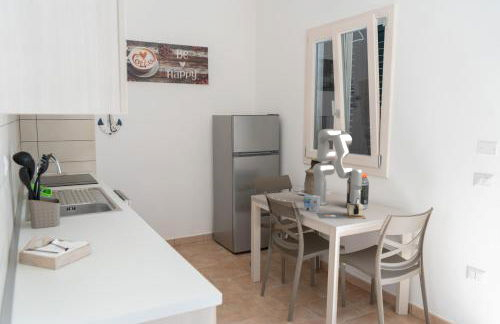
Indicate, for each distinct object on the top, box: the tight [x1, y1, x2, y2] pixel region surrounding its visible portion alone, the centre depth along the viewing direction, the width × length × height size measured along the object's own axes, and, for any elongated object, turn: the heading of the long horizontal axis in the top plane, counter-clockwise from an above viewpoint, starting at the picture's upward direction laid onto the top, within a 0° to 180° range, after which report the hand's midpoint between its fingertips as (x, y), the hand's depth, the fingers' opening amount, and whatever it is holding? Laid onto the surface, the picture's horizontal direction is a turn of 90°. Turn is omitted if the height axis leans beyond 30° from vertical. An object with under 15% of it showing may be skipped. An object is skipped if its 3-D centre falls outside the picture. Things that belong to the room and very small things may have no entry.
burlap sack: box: [297, 157, 332, 197], centre depth 338 cm, size 25×25×32 cm
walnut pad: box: [343, 212, 367, 220], centre depth 266 cm, size 12×12×1 cm
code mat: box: [315, 212, 346, 220], centre depth 266 cm, size 14×17×1 cm
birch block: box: [346, 202, 364, 216], centre depth 266 cm, size 6×9×7 cm, turn 91°
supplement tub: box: [346, 172, 370, 210], centre depth 291 cm, size 16×16×26 cm
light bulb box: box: [302, 194, 321, 213], centre depth 281 cm, size 11×7×11 cm, turn 62°
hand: (354, 212), depth 266 cm, fingers closed on birch block, 6 cm apart
